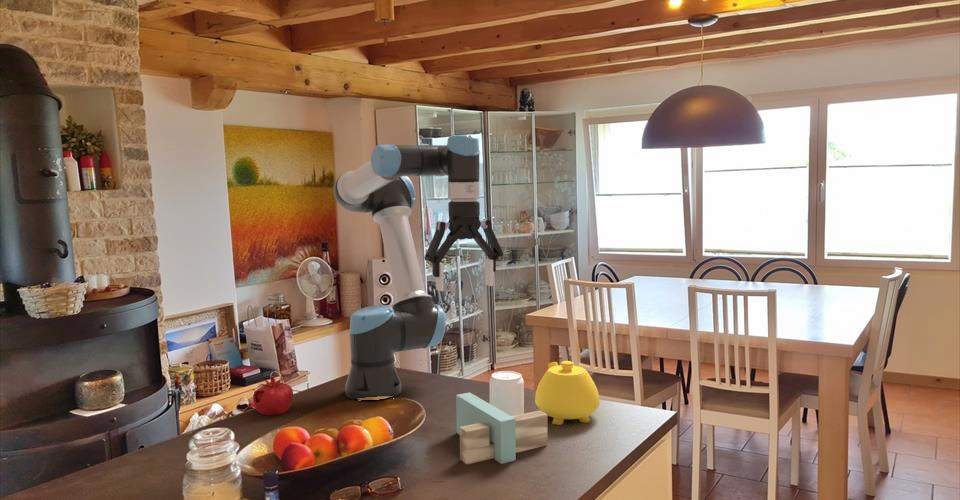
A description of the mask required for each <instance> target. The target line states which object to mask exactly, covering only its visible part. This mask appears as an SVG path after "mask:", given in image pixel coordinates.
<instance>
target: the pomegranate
mask: <svg viewBox="0 0 960 500" xmlns="http://www.w3.org/2000/svg"><path fill="white" fill-rule="evenodd" d="M269 379H270V382H269V381H268V380H263V382H265V383H260V384H259V385H258V386H256V387H257V389H256V391H255V392H254V393H253V395H252V402H253V406H254V408H255V410H256V412H258V413H259V414H261V415H266V416H276V415H281V414H285V413H286V412H287V411H288V410H289V409H290V408H291V407H292V405H293V401H294V397H295V396H294V390H293V388H292V386H291V385H289V384H288V383H283V382H281V381H288V380H287V379H283V378H280V379H278V380H277V381H276V378H275V375H272V376H270V378H269Z"/></svg>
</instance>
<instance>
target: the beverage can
mask: <svg viewBox="0 0 960 500" xmlns="http://www.w3.org/2000/svg"><path fill="white" fill-rule="evenodd" d="M524 383H525V380H524V378H523V376H522V373H520V372H516V371H512V370H500V371H494V372H493V373H491V377H490V378H489V383H488V384H489V404H491V405H493V406H494V407H496V408H498V409H500V410H501V411H503V412H505V413H507V414H508V415H510V416H515V415H520V414H525V409H524V408H525V393H524V392H525V390H524V389H525V386H524V385H525V384H524Z"/></svg>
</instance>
